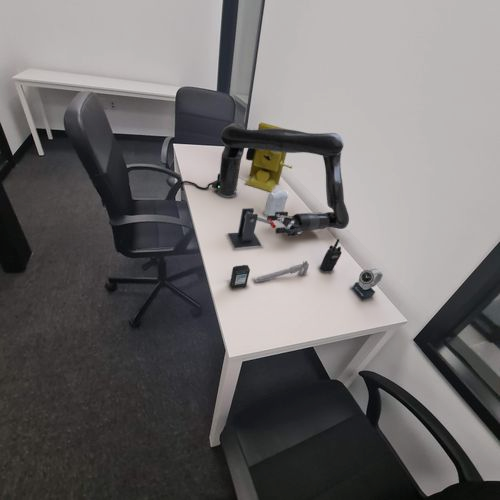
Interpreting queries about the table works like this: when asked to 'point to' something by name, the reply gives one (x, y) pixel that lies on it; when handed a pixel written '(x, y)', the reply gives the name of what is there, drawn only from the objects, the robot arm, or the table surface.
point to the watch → (367, 283)
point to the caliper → (285, 272)
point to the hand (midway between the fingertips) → (271, 224)
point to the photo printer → (275, 202)
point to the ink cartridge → (239, 276)
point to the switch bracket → (246, 231)
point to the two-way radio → (331, 258)
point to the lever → (263, 220)
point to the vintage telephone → (265, 165)
